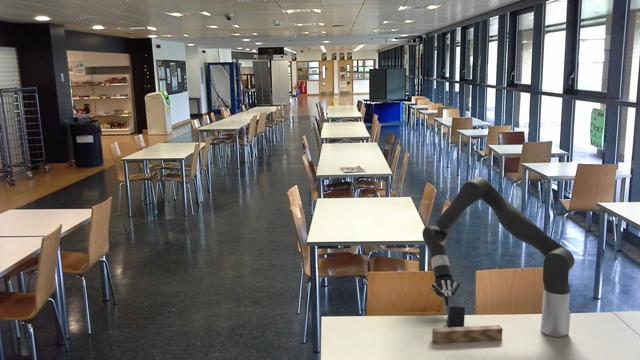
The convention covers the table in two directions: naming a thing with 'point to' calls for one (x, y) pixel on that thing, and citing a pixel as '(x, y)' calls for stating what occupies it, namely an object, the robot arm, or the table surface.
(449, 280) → the robot arm
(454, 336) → the walnut board
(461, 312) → the small box
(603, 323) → the table surface
